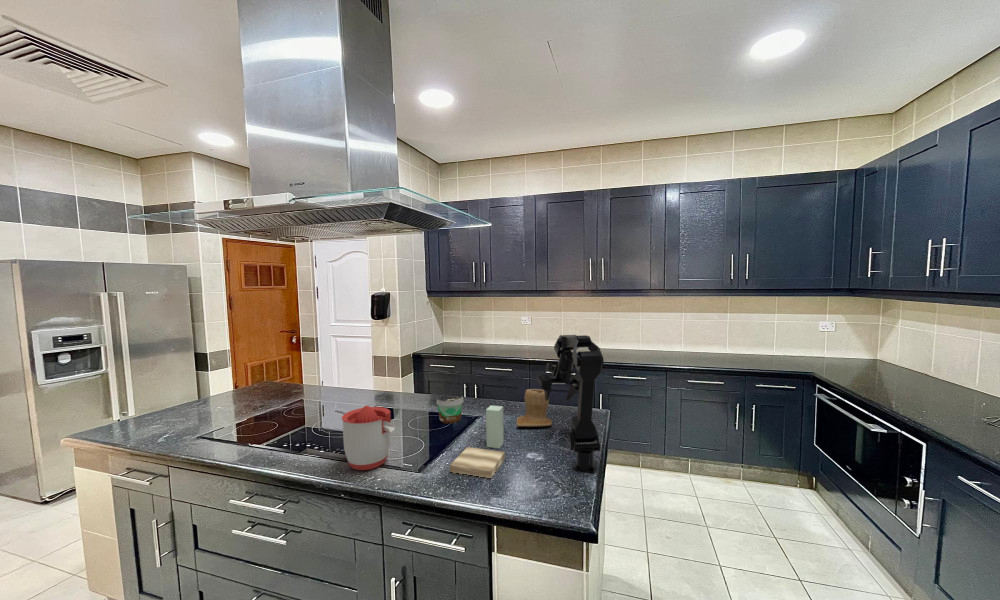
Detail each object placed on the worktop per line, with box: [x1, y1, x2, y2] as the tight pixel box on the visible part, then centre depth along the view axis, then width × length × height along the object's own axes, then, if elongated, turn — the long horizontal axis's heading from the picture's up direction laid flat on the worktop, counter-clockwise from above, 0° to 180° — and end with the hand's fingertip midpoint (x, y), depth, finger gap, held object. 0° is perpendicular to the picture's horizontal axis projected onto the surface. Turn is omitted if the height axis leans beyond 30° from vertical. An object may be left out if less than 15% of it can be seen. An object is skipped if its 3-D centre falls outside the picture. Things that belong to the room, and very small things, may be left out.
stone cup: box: [515, 388, 553, 428], centre depth 163 cm, size 15×12×15 cm
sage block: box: [485, 405, 505, 449], centre depth 143 cm, size 5×5×14 cm
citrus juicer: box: [341, 405, 396, 471], centre depth 130 cm, size 16×17×20 cm
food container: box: [435, 395, 464, 424], centre depth 168 cm, size 12×6×10 cm, turn 114°
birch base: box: [449, 446, 506, 479], centre depth 127 cm, size 14×14×2 cm
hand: (556, 400), depth 152 cm, fingers open, 9 cm apart
